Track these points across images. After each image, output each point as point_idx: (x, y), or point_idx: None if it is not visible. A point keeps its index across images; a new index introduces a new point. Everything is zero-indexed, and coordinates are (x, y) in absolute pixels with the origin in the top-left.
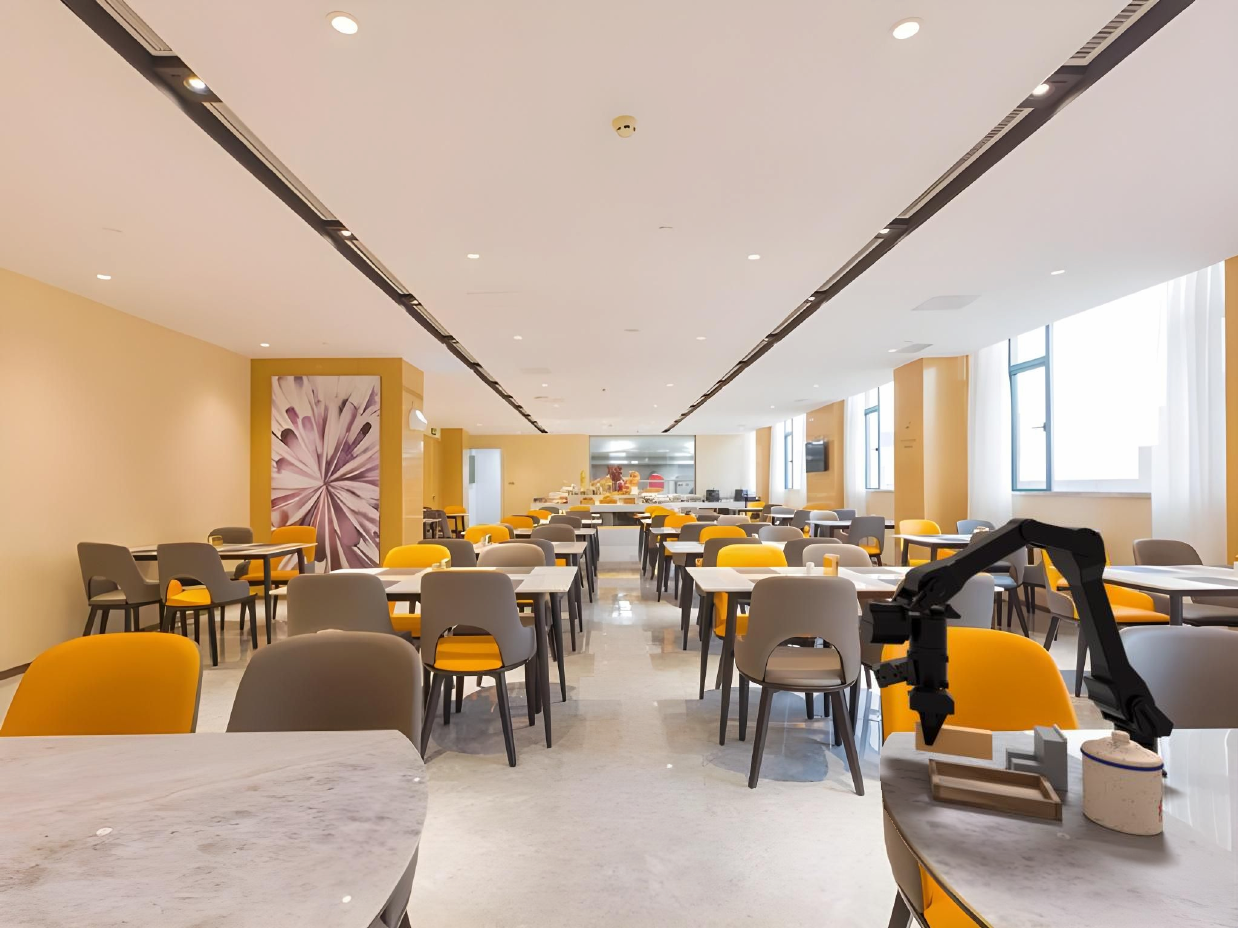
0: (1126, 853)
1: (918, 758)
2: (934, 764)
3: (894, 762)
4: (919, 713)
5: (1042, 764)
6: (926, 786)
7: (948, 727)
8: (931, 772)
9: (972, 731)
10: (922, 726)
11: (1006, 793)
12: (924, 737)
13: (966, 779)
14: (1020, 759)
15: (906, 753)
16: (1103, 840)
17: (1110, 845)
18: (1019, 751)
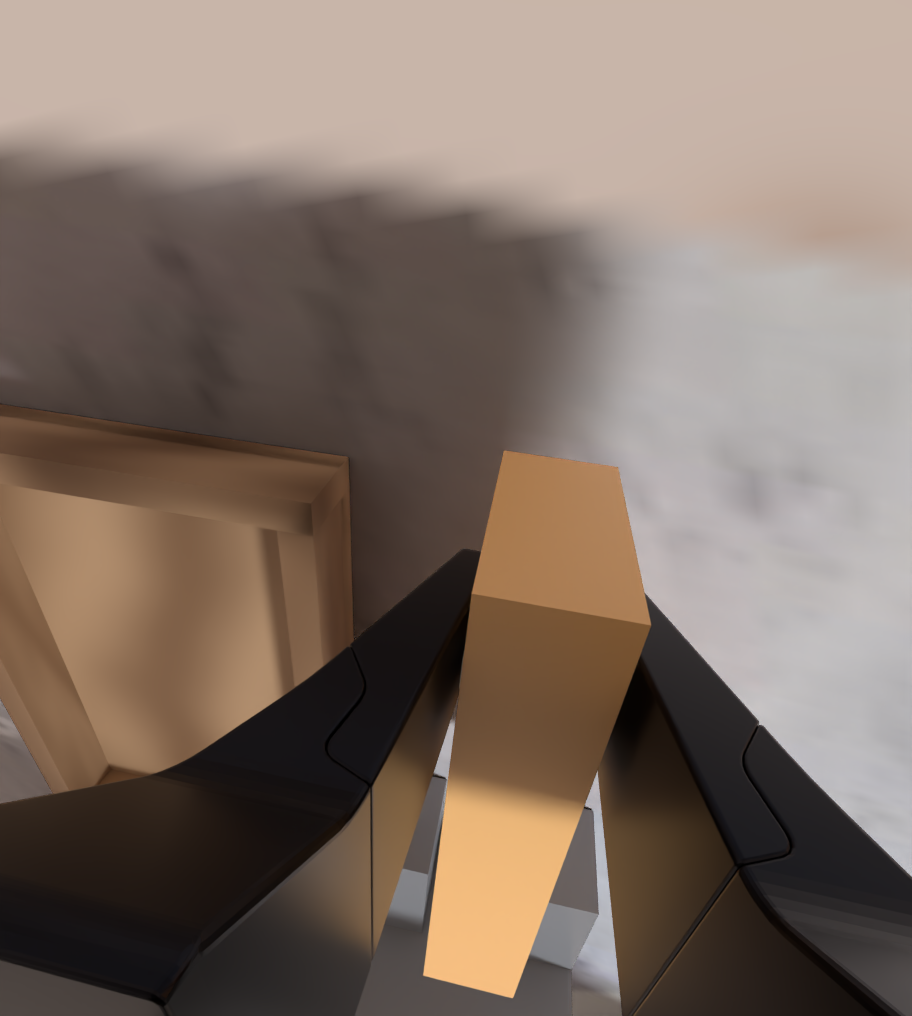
0: (5, 797)
1: (623, 448)
2: (205, 512)
3: (473, 234)
4: (164, 778)
5: (392, 924)
6: (116, 396)
7: (492, 834)
8: (37, 459)
9: (445, 921)
10: (352, 646)
11: (25, 707)
12: (427, 580)
13: (273, 617)
14: (424, 892)
15: (733, 377)
16: (46, 790)
17: (26, 790)
18: (546, 930)
